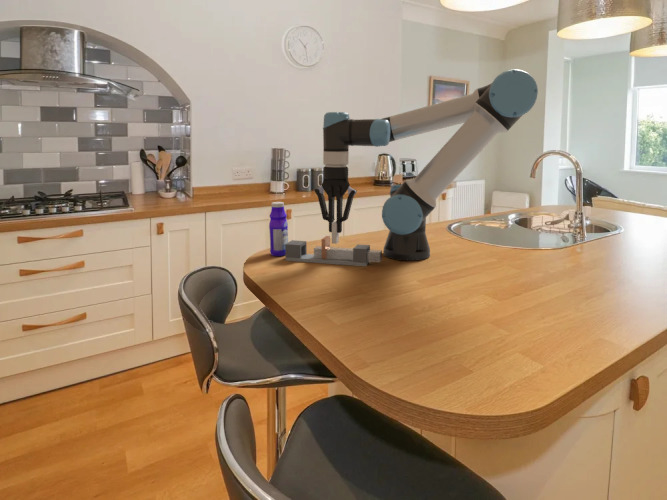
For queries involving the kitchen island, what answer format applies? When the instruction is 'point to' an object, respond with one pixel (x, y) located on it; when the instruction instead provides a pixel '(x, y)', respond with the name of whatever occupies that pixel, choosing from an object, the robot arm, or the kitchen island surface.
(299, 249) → the rail
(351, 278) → the kitchen island surface
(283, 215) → the bottle
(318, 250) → the long square rod
